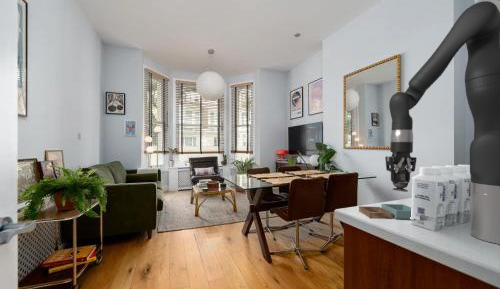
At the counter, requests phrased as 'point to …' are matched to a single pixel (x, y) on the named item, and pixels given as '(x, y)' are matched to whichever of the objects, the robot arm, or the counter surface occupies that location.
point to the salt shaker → (401, 180)
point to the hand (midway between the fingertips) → (400, 181)
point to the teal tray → (398, 211)
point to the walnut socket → (375, 212)
